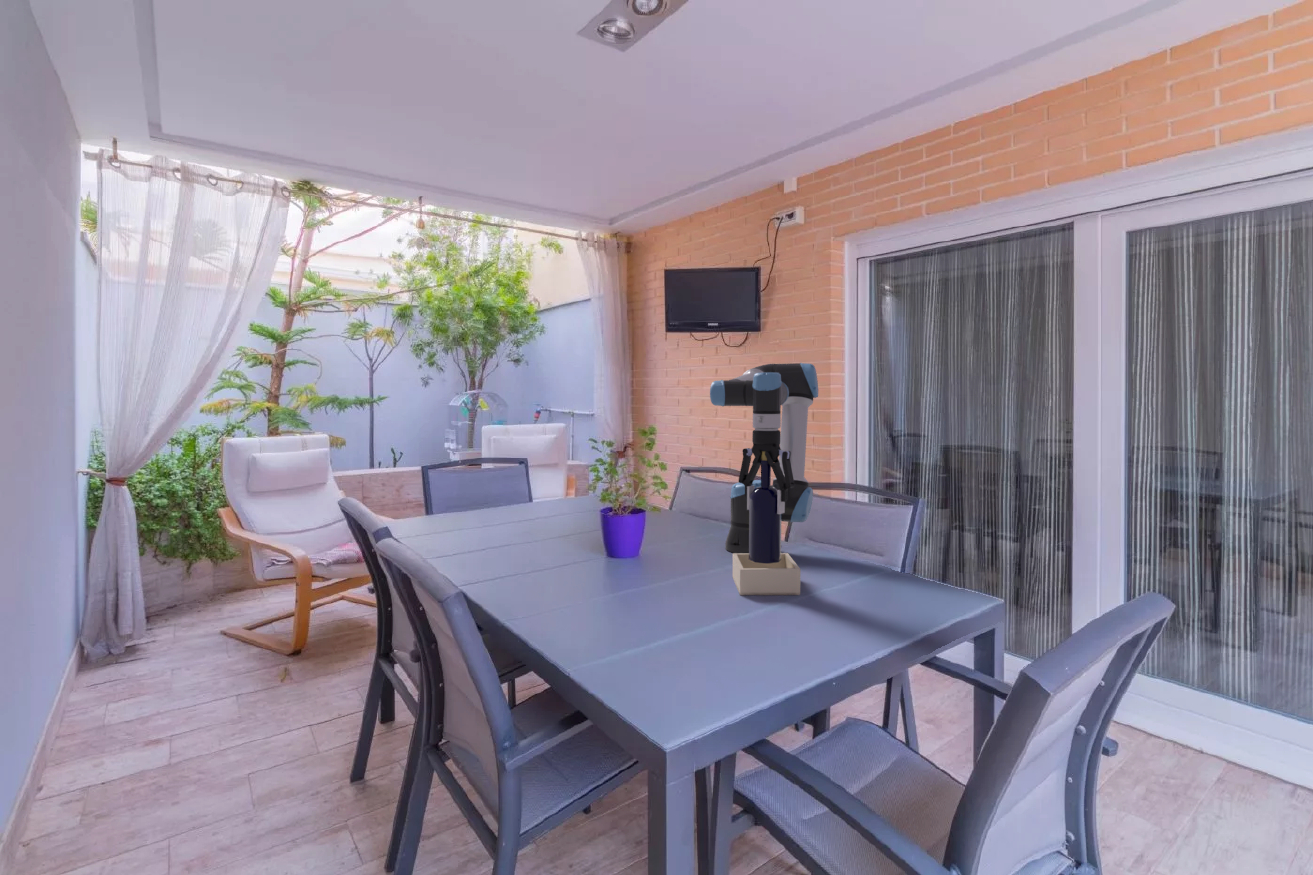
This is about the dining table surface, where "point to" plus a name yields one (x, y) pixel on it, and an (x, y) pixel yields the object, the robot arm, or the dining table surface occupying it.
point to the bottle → (764, 520)
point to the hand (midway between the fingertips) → (765, 511)
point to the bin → (766, 576)
